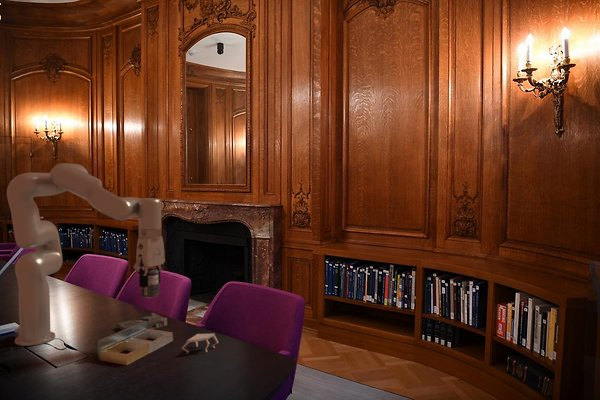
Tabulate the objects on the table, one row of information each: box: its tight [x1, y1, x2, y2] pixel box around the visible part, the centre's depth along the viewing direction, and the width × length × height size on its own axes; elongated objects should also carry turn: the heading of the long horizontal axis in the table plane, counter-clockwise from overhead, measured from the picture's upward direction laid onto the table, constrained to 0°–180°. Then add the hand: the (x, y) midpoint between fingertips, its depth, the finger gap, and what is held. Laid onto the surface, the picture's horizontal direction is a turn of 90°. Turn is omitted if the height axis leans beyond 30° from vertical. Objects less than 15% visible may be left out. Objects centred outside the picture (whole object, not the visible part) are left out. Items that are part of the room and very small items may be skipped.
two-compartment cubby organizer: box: [97, 321, 174, 366], centre depth 156 cm, size 12×24×6 cm, turn 160°
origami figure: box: [181, 333, 219, 355], centre depth 155 cm, size 12×8×5 cm
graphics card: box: [116, 312, 168, 331], centre depth 181 cm, size 17×4×12 cm
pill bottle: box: [140, 266, 160, 299], centre depth 161 cm, size 6×6×11 cm
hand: (150, 284), depth 161 cm, fingers closed on pill bottle, 6 cm apart
